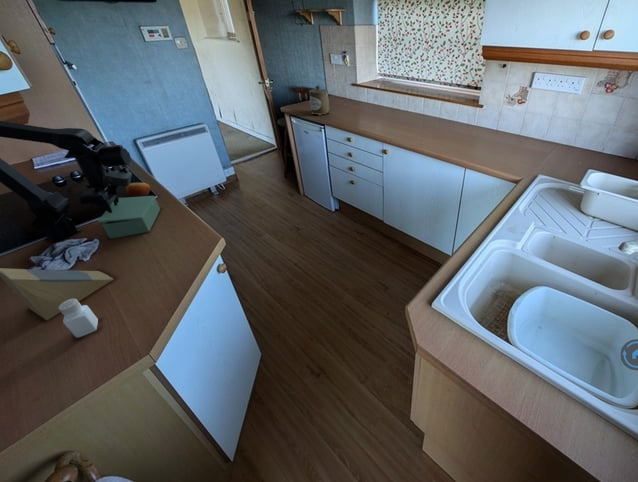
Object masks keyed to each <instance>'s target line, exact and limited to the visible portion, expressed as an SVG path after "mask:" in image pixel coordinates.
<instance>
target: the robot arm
mask: <svg viewBox="0 0 638 482" xmlns="http://www.w3.org/2000/svg"><path fill="white" fill-rule="evenodd" d="M0 138H6V139H12V140H14V139H15V140H20V141H21V140H22V141H28V142H35V143H42V144H48V145H53V146H54V147H57V148H59V149H61V150H65V151H67V153H66V155H64V159H75V161H76V163H77V165H78V167H79V169H80V171H81V173H80V178H85V180H86V182H87V184H86V188H87V189H89V190H84V192H83V193H81V195H80V196H79V197H78V198H77V200H78V202H79V203H80V204H81V205H88V204H93V205H95V206H97V207H99V208H100V209H102V210H104V211H107V212H112V208H111V205H110V202H109V199H108V198H109V197H110V196H111V194H115V195H117V197H116V201H117V203H118V202H119V199H118V198H119V186H120V187H124V188H126V186H128V185H129V184H131V183H132V176H133V174H132V171H130V169H129V168H128V167H126V166H129V165H131V163H132V157H131V153H130V152H129V151H128V150H127V148H124V146H123V145H122V144H116V145H108V146H107V144H106V143H105V142H103V141H102V140H100V139H99V138H98V137H96V136H94V135H93V134H92V132H90V130H88V129H84V128H80V127H79V128H78V127H77V128H76V127H74V128H73V127H66V128H49V127H44V126H43V127H42V126H37V125H31V124H30V125H29V124H25V123H18V122H17V123H16V122H12V121H11V122H10V121H5V120H0ZM90 146H91V147H90ZM120 166H121V168H120V169H119V170H118V169H115V170H111V167H120ZM0 183H1V184H2V185H3V186H5V187H6V188H7V189H9V190H10V191H12V192H13V193H15V195H17V196H19V197H20V198H21V199H23V200H24V201H25V202H26V203H27V206H28V208H29V211H30V212H31V213H32V214H34V216H35V219H34V220H33V222H32V223H31V224H30V226H32V227H33V228H34V229H36V230H40V229H41V230H42V231H43V233H44V235H45V239H46V240H49V241H51V242H55V243H59V242H61V241H62V240H65V239H67V238H69V237H70V236H73V235H75V234H77V233H78V232H79V233H80V231H79V229H77V227H76V225H75V224H74V222H73V220H72V219H71V218H68V217H67V216H66V215H67V214H68V210H69V209H70V202H69V201H68V198H66V197H64V195H62V194H61V193H60V192H59V191H54V192H49V191H45V190H43V189H42V188H41V187H39V186H38V185H37V184H36V183H34V182H33V181H31V180H30V179H29V178H28V177H26V175H24V174H22V173H21V172H20V171H18V170H17V169H16V168H15V167H14V166H12V165H11V164H10V163H8V162H7V161H6V160H4V159H3V158H2V157H0ZM90 189H91V190H90Z"/></svg>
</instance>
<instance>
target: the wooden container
mask: <svg viewBox="0 0 638 482" xmlns="http://www.w3.org/2000/svg"><path fill="white" fill-rule="evenodd" d="M328 91H329V90H328V89H326V88H321V86H320V85H316V86H315V89H314V88H313V89H310V90H308V93H309V102H310V103H309V104H310V111H312V112H313V113H325V112H328V111H329V110H330V99H329V92H328ZM312 112H311V113H312Z"/></svg>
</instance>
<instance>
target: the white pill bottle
mask: <svg viewBox="0 0 638 482" xmlns="http://www.w3.org/2000/svg"><path fill="white" fill-rule="evenodd" d="M58 308H59V310H60V311H61V312H60V314H62V315H63V318H62V319H63V320H62V323H63V325H65V327H67V329H68V330H69V331H70V333H72V335H73V336H74V337H75V338H76V339H78V338H81V337H84V336H86V335H90V334H92V333H95V332H96V331H97V330H98V325H99V324H98V323H99V319H98V317H97V316H96V315H95V314H94V312H93V310H92V309H91V308H90V307H89V305H87V304H83V305H82V304H81V303H80V301H78V300H77V299H69V300H67V301H64V302H63V303H62V304H60V306H59V307H58Z"/></svg>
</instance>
